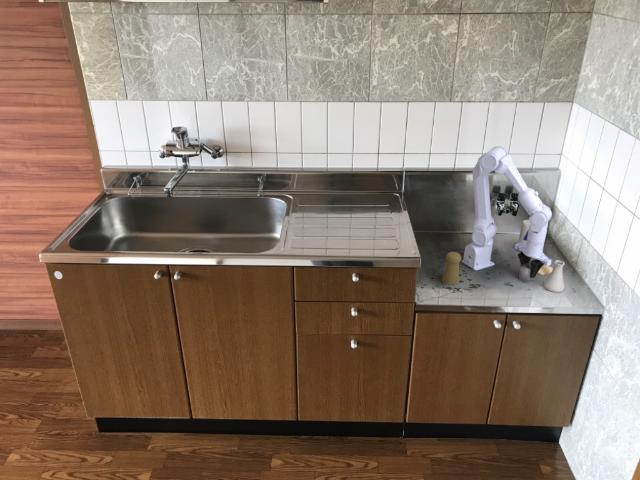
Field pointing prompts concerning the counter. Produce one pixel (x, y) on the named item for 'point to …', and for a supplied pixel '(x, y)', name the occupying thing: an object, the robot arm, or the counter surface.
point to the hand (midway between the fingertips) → (528, 274)
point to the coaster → (545, 270)
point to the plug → (525, 273)
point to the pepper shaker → (451, 269)
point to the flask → (555, 278)
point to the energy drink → (524, 232)
